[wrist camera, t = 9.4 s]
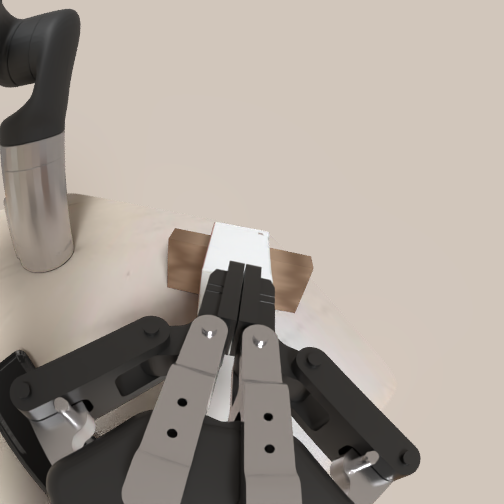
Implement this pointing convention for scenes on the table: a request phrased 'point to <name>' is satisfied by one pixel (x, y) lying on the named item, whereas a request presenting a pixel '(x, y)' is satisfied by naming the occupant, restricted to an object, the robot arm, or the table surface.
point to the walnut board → (192, 258)
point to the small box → (235, 252)
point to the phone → (22, 421)
